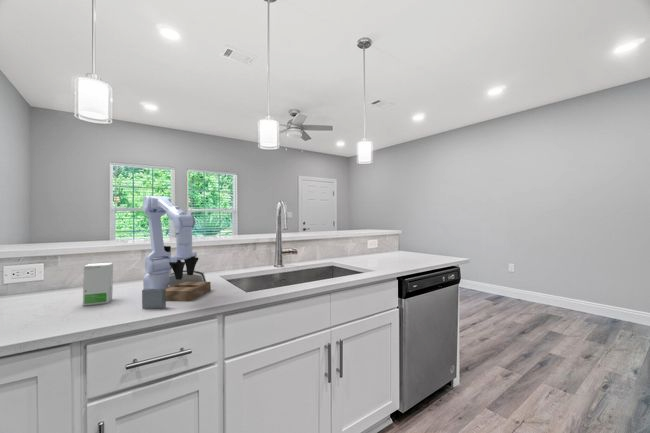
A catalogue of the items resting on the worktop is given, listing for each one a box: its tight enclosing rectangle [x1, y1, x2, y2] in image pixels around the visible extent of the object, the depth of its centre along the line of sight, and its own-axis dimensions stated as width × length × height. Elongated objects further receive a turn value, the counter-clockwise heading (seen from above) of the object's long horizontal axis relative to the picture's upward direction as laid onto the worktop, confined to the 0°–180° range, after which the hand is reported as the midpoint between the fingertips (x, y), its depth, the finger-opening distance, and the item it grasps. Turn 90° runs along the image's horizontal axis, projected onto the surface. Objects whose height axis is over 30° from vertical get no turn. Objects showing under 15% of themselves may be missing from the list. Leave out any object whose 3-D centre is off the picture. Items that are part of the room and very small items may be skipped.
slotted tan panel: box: [164, 281, 212, 302], centre depth 118 cm, size 14×16×4 cm
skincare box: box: [82, 262, 114, 307], centre depth 109 cm, size 8×7×16 cm
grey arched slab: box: [169, 269, 207, 286], centre depth 131 cm, size 17×5×10 cm, turn 95°
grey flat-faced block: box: [141, 289, 167, 310], centre depth 102 cm, size 8×2×7 cm, turn 85°
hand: (184, 277), depth 110 cm, fingers open, 7 cm apart
